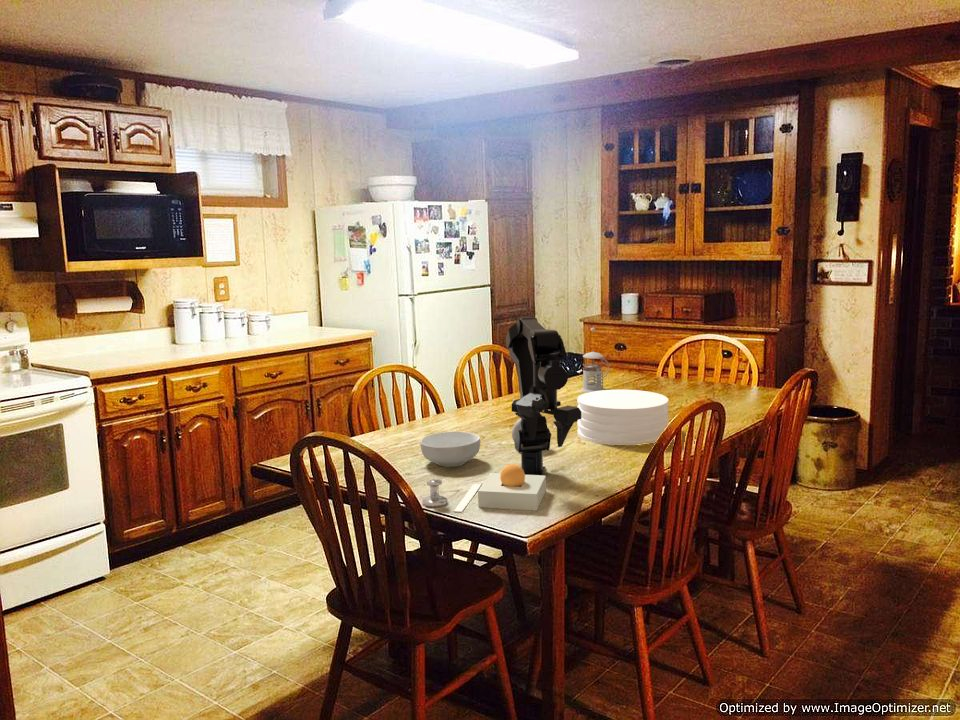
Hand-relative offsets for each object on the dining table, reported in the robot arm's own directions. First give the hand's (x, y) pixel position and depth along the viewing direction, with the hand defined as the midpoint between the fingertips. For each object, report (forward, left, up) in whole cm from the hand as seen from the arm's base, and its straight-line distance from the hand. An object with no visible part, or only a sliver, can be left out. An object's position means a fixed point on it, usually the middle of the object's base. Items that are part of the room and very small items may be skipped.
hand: (545, 443), depth 199 cm
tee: (+14, -25, -12) cm, 31 cm away
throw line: (+9, -18, -12) cm, 23 cm away
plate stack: (-57, +15, -12) cm, 60 cm away
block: (+8, -7, -12) cm, 16 cm away
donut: (-36, -11, -12) cm, 40 cm away
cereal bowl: (-19, -30, -12) cm, 38 cm away
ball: (+8, -7, -6) cm, 12 cm away
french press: (-123, +1, -12) cm, 124 cm away
